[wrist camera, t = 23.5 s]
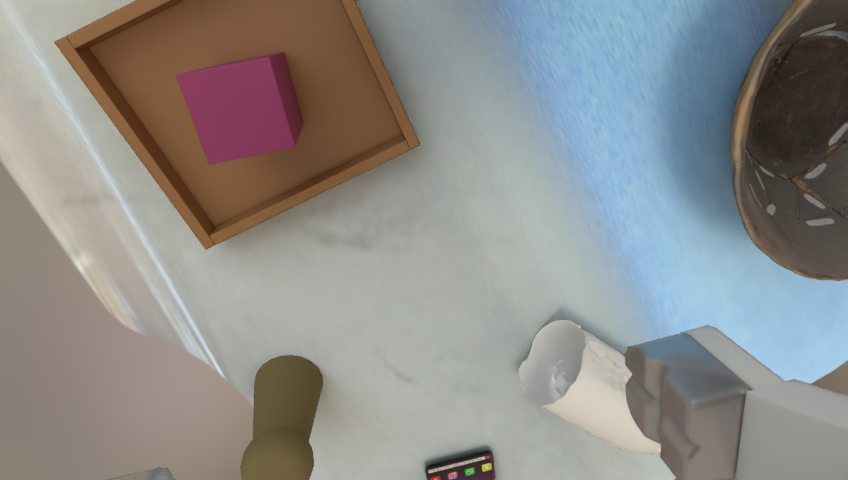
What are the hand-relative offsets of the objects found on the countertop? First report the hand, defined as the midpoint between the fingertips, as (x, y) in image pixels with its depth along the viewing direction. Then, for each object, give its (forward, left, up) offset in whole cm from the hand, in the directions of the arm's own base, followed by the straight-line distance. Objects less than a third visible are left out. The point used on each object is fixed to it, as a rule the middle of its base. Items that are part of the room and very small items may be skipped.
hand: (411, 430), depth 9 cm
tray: (+5, -5, -31) cm, 32 cm away
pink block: (+5, -5, -30) cm, 31 cm away
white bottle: (-11, +32, -31) cm, 46 cm away
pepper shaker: (+16, +18, -31) cm, 40 cm away
